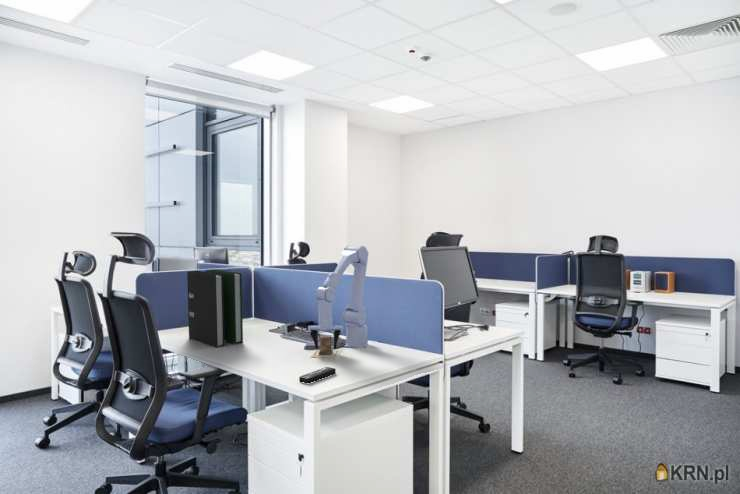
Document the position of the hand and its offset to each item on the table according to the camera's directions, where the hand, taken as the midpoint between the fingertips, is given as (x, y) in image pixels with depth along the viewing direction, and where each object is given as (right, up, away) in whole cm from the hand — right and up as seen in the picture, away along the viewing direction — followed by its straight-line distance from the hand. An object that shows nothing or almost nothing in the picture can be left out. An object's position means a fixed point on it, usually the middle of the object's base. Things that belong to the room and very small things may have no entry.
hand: (325, 348), depth 207 cm
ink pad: (-6, -2, +11) cm, 12 cm away
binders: (-54, -2, +26) cm, 60 cm away
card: (0, -2, 0) cm, 2 cm away
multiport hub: (0, -4, -32) cm, 32 cm away
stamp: (0, -2, 0) cm, 2 cm away
